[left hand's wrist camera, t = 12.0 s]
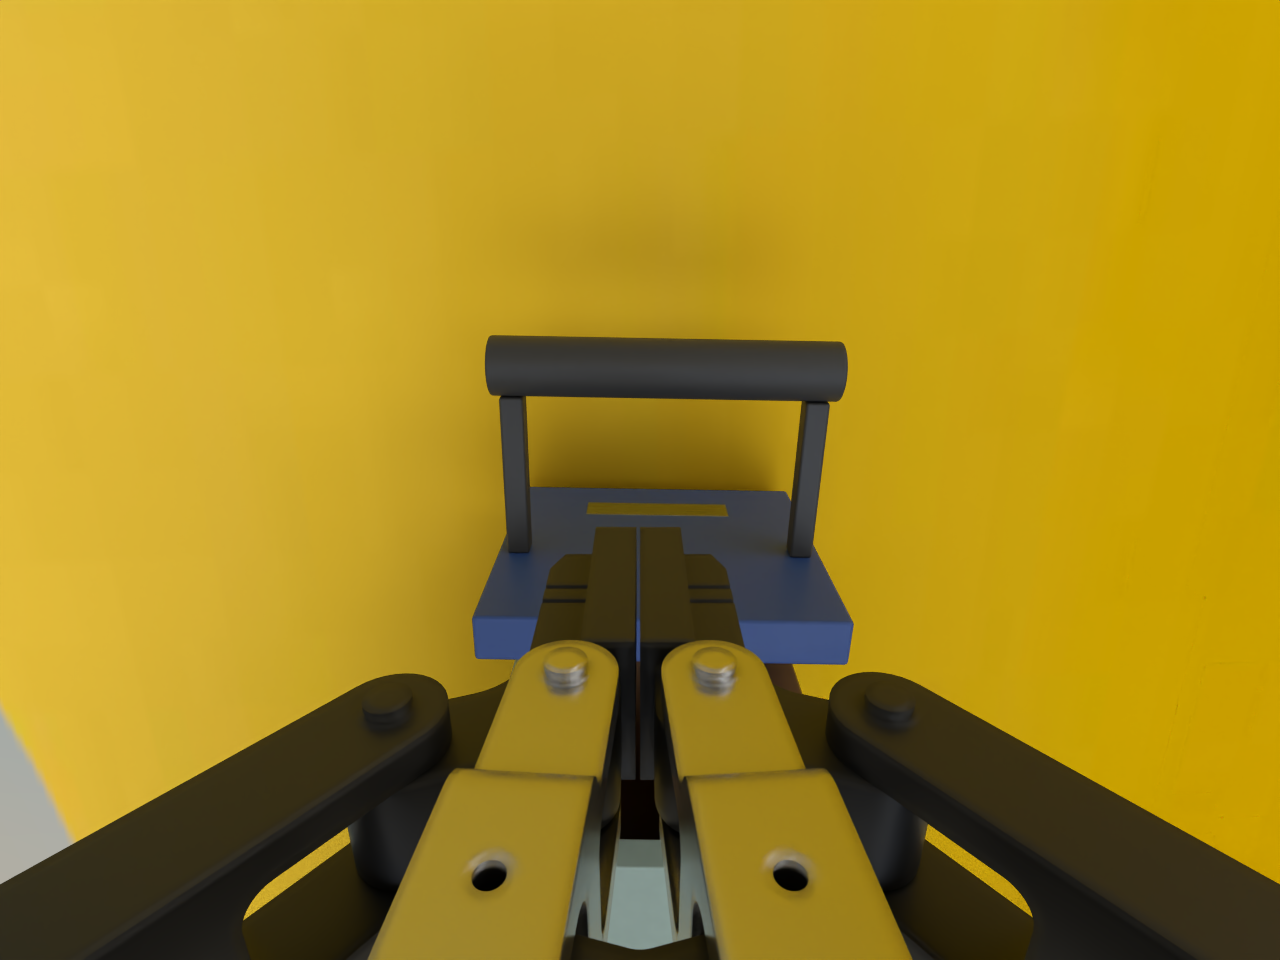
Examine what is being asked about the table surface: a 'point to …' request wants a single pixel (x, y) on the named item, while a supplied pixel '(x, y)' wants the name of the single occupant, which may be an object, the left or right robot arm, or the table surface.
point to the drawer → (671, 501)
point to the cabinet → (639, 896)
